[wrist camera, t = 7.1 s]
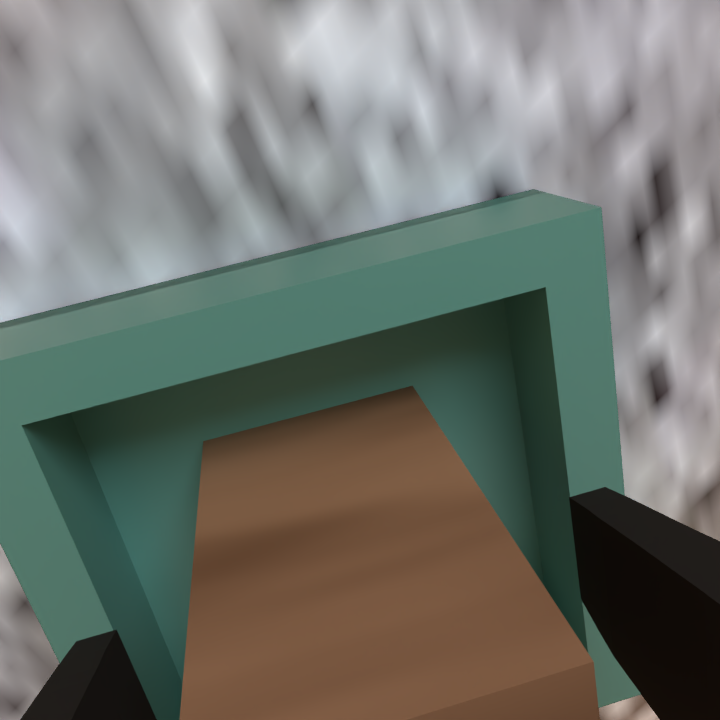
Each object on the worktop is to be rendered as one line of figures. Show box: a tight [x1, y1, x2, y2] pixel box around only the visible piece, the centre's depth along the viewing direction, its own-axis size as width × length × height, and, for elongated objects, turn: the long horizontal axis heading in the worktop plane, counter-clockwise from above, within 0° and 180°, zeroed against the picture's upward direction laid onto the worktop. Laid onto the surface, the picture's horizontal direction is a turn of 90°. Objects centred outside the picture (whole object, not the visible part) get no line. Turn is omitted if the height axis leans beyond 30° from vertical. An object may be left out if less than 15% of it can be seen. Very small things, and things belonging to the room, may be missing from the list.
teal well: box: [0, 189, 641, 720], centre depth 13 cm, size 10×10×2 cm
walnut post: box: [180, 386, 600, 720], centre depth 10 cm, size 4×4×7 cm
